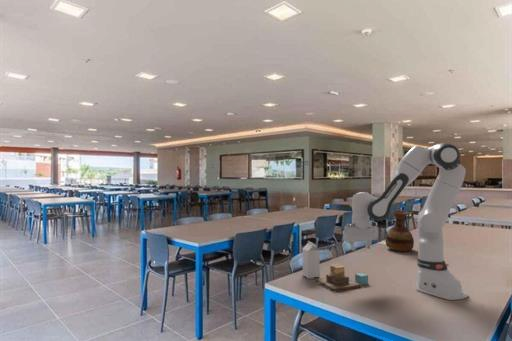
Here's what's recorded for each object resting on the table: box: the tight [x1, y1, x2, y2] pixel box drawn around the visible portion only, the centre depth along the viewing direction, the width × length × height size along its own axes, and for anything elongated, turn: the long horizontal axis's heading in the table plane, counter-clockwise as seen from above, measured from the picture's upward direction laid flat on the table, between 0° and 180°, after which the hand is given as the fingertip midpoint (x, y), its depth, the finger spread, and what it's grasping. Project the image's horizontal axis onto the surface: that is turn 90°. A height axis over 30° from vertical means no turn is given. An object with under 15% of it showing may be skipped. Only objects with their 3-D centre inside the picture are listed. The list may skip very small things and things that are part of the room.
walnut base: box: [315, 273, 362, 292], centre depth 162 cm, size 16×16×4 cm
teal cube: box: [354, 272, 369, 286], centre depth 164 cm, size 4×4×4 cm
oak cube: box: [329, 263, 346, 278], centre depth 162 cm, size 5×5×5 cm
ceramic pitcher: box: [385, 210, 415, 252], centre depth 242 cm, size 20×20×30 cm
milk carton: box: [302, 240, 321, 279], centre depth 176 cm, size 7×7×19 cm
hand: (360, 249), depth 165 cm, fingers open, 8 cm apart
